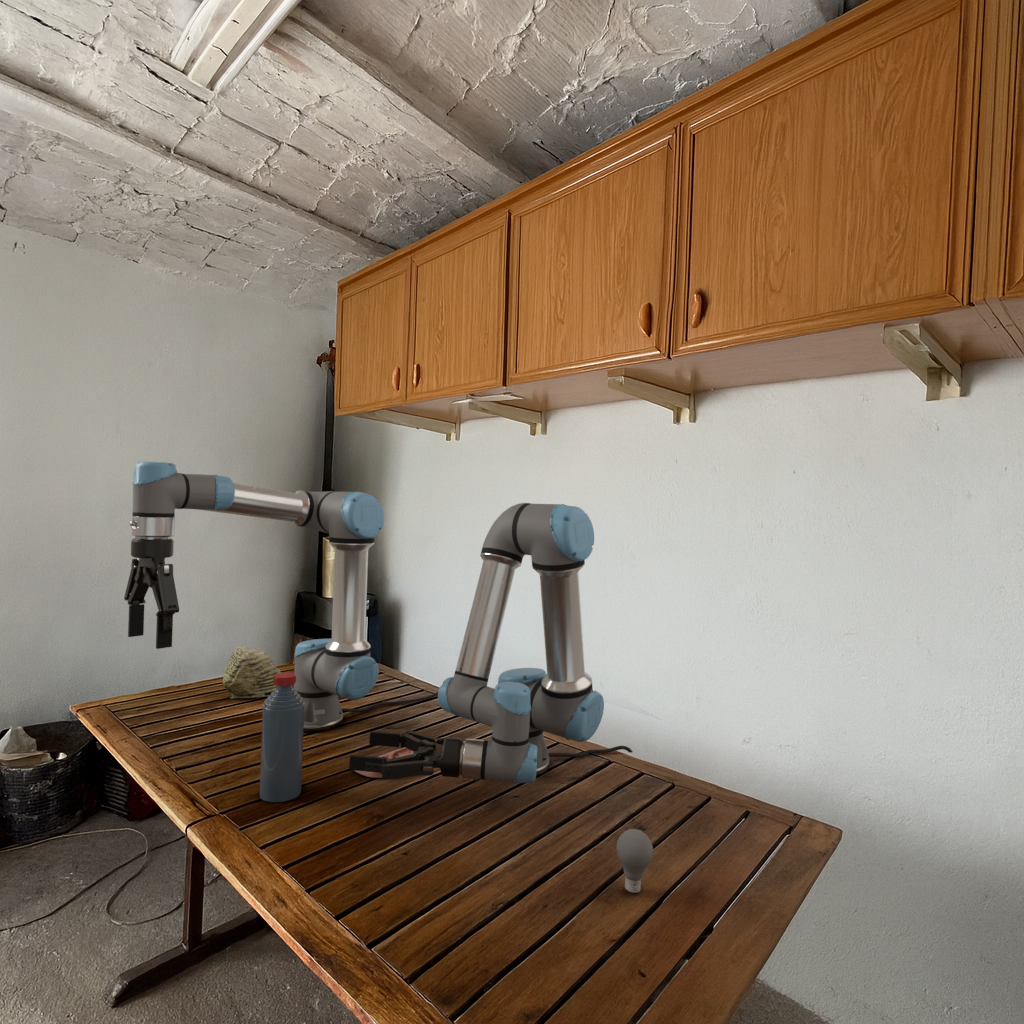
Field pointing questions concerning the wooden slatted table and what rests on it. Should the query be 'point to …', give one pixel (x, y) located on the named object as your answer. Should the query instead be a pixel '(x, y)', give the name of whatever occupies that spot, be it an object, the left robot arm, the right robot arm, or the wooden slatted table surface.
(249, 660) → the fossil
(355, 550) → the left robot arm
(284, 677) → the cap
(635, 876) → the light bulb
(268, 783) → the bottle
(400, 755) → the anatomical model
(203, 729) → the wooden slatted table surface
